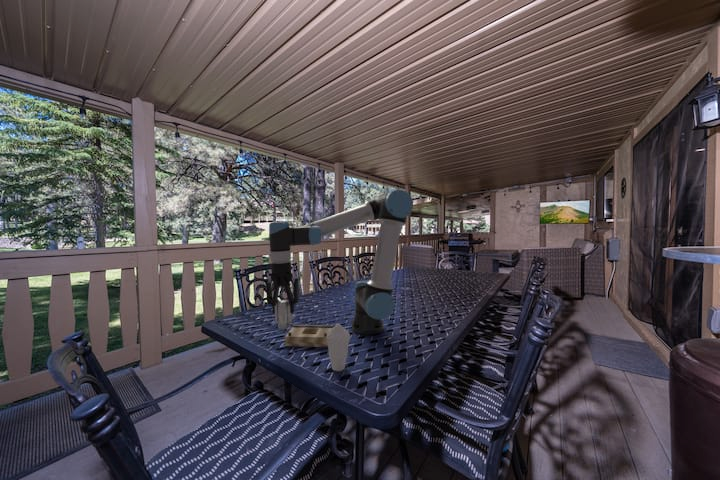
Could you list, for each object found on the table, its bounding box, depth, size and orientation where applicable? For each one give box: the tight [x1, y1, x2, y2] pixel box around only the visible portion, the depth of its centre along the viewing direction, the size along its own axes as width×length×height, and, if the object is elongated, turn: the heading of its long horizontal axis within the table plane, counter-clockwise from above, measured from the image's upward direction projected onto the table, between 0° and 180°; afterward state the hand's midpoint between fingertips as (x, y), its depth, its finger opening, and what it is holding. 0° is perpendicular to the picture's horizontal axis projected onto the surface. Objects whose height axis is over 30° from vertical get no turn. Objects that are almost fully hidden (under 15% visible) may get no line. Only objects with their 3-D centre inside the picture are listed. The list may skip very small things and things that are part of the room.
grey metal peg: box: [277, 299, 291, 330], centre depth 105 cm, size 4×4×10 cm
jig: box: [284, 323, 334, 348], centre depth 116 cm, size 18×12×5 cm, turn 86°
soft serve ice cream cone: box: [326, 322, 351, 372], centre depth 93 cm, size 8×8×16 cm
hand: (284, 321), depth 105 cm, fingers closed on grey metal peg, 4 cm apart
